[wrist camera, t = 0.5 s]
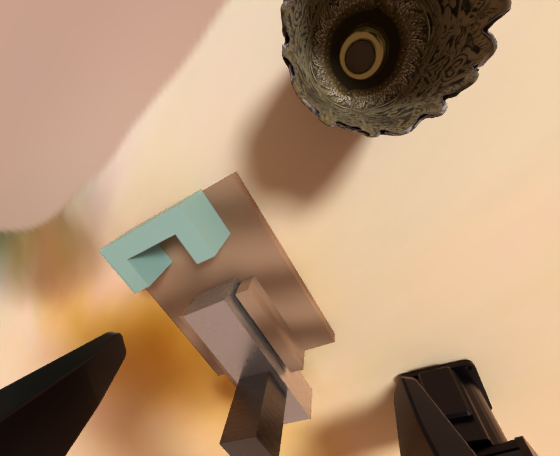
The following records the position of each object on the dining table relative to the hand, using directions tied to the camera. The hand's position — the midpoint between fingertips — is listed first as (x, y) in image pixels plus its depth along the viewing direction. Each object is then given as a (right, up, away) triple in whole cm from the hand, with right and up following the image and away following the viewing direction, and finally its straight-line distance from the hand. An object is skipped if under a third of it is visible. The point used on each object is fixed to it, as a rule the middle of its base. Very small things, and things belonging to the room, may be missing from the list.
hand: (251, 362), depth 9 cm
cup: (+6, +15, +8) cm, 17 cm away
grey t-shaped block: (-1, -6, +17) cm, 18 cm away
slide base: (-4, -1, +16) cm, 17 cm away
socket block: (-7, +4, +14) cm, 16 cm away
